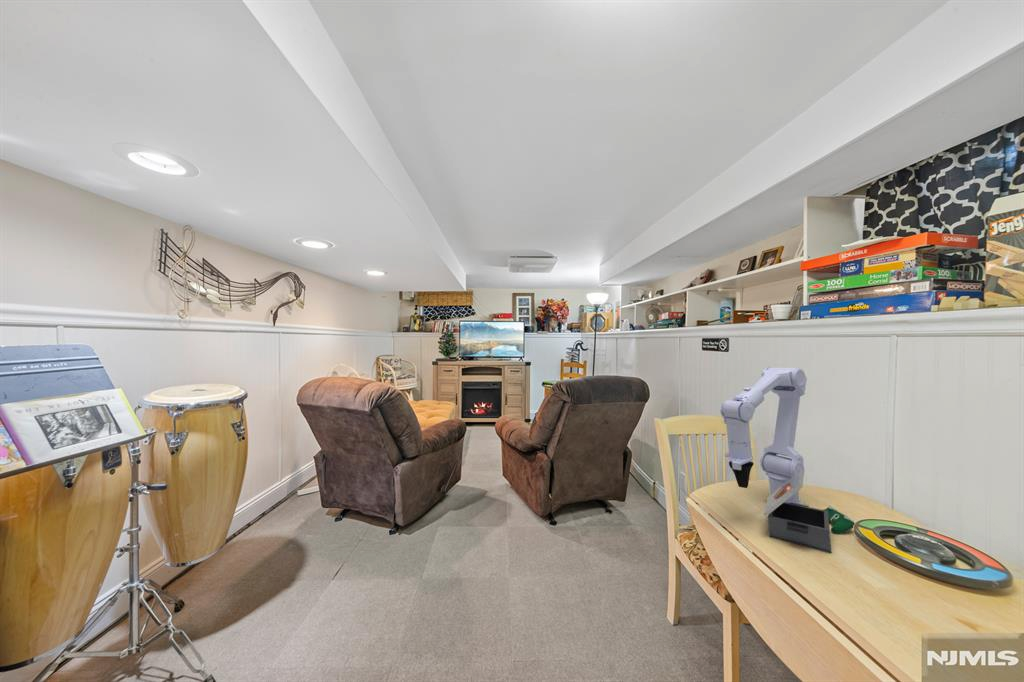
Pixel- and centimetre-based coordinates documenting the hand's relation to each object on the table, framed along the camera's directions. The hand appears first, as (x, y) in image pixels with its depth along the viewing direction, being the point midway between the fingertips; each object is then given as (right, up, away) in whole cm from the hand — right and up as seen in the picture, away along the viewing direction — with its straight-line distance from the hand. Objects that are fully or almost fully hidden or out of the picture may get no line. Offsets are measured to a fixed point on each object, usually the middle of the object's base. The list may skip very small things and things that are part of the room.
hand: (743, 486), depth 98 cm
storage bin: (+9, -9, -8) cm, 16 cm away
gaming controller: (+21, -9, -6) cm, 24 cm away
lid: (+7, +1, -7) cm, 10 cm away
